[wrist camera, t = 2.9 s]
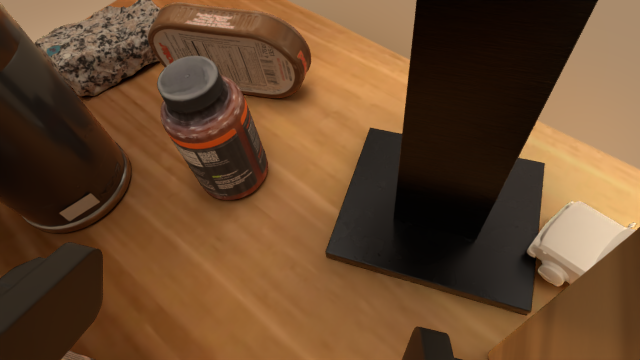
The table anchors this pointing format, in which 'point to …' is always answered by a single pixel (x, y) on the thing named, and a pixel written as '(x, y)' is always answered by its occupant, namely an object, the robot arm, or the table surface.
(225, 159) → the supplement bottle
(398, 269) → the shelf stand
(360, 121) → the table surface
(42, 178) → the robot arm
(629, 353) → the box
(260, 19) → the tin
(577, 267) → the toy car
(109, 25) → the rock
